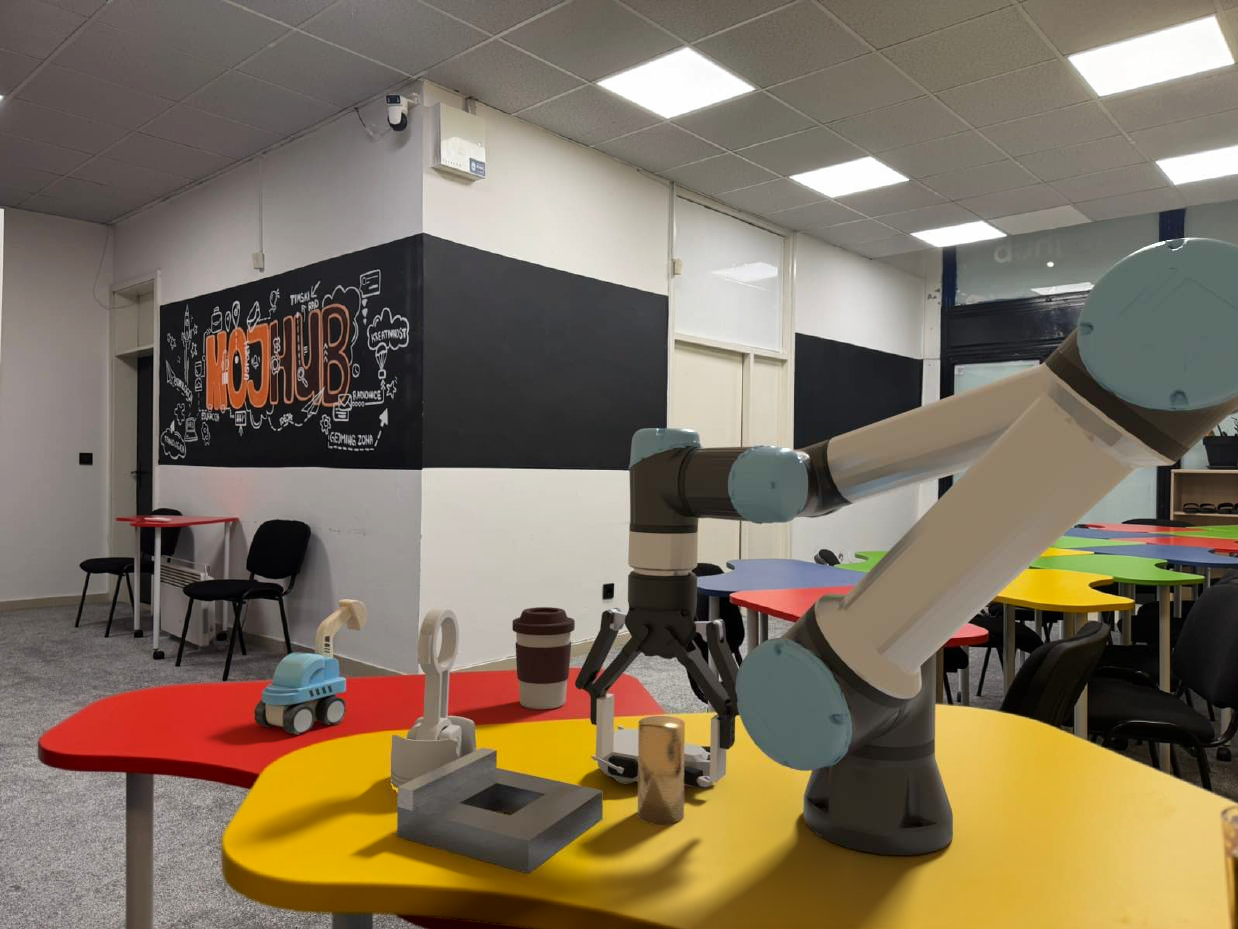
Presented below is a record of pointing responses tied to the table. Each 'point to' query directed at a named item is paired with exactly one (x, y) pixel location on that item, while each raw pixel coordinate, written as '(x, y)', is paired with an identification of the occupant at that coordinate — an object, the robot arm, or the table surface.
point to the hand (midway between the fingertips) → (659, 766)
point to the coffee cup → (543, 656)
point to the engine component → (433, 707)
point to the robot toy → (626, 760)
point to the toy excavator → (310, 679)
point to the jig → (466, 822)
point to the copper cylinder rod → (661, 770)
